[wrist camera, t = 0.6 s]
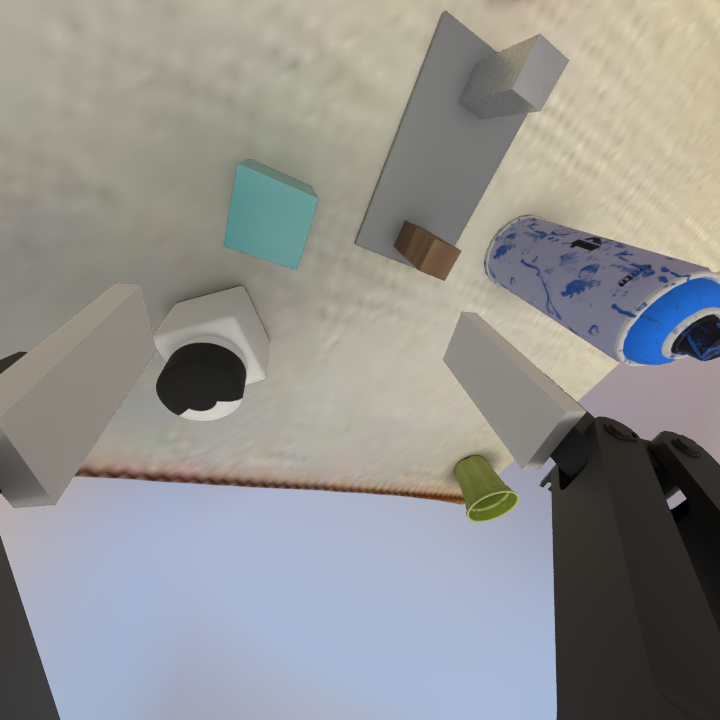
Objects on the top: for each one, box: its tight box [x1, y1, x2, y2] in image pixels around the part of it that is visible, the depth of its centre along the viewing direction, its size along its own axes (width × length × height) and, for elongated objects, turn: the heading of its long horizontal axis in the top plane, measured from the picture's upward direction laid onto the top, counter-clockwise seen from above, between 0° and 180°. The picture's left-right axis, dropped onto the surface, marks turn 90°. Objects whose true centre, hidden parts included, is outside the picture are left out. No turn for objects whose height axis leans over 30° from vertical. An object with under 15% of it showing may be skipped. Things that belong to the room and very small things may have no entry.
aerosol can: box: [484, 215, 720, 366], centre depth 26 cm, size 8×8×20 cm
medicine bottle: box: [153, 286, 270, 421], centre depth 27 cm, size 7×7×12 cm
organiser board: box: [355, 11, 528, 269], centre depth 27 cm, size 10×17×1 cm, turn 157°
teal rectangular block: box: [224, 159, 319, 270], centre depth 23 cm, size 5×5×8 cm
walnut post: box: [394, 220, 461, 281], centre depth 27 cm, size 3×3×8 cm
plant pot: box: [455, 456, 519, 522], centre depth 54 cm, size 9×9×9 cm
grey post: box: [458, 34, 569, 119], centre depth 21 cm, size 3×3×8 cm
